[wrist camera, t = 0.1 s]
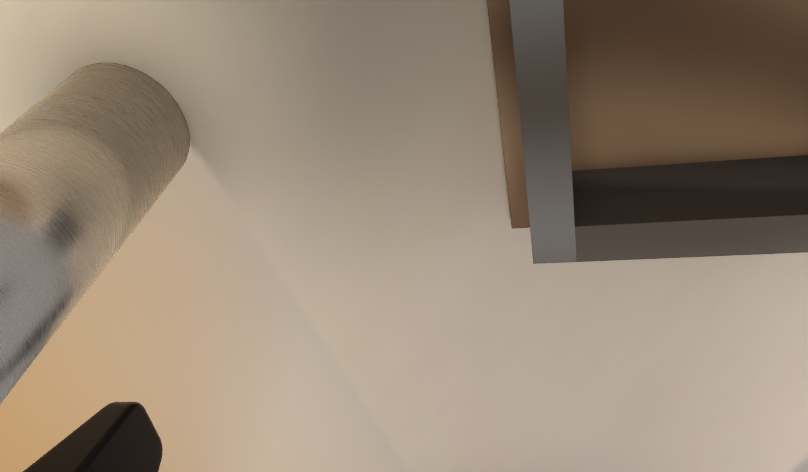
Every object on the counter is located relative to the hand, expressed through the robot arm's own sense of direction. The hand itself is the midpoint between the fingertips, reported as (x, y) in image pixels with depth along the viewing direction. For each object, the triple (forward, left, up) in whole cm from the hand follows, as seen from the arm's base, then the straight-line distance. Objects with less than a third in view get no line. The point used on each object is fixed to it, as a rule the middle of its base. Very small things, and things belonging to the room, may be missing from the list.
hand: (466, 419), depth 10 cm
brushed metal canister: (-2, +13, -15) cm, 20 cm away
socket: (-1, -5, -15) cm, 15 cm away
